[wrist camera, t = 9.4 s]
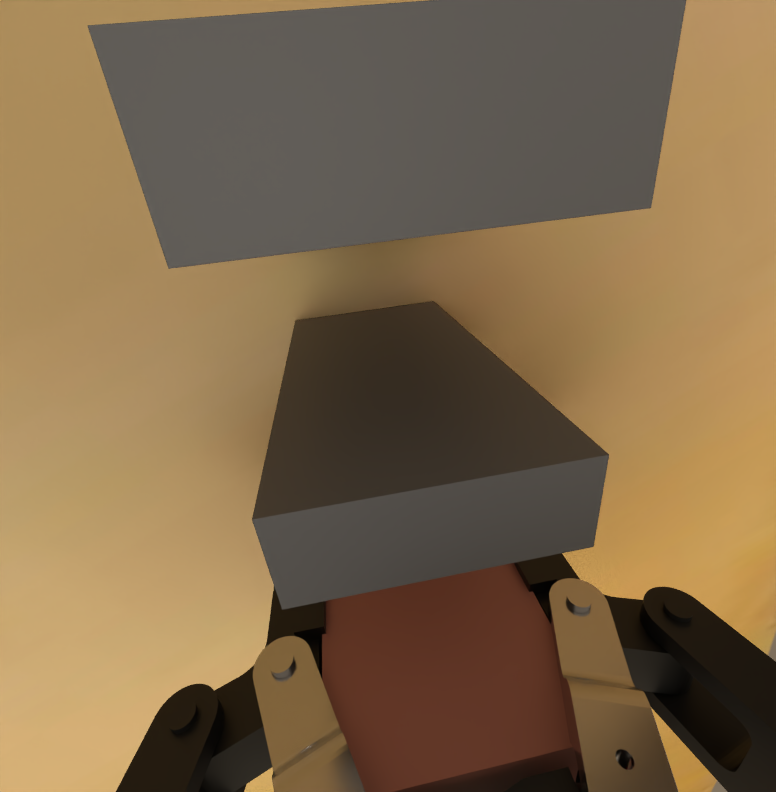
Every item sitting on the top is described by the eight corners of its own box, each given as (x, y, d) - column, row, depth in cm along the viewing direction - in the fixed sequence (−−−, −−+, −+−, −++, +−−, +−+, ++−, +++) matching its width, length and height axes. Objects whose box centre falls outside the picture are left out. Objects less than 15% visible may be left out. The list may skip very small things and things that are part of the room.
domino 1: (260, 156, 12) (87, 24, 3) (425, 139, 12) (689, -20, 4) (274, 222, 13) (169, 268, 4) (428, 204, 13) (650, 208, 4)
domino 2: (295, 320, 14) (252, 519, 5) (433, 301, 15) (609, 454, 6) (305, 367, 15) (282, 608, 6) (436, 347, 15) (593, 546, 7)
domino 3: (321, 459, 15) (322, 809, 7) (448, 437, 16) (612, 737, 7) (329, 495, 16) (339, 852, 7) (450, 473, 17) (599, 785, 8)
